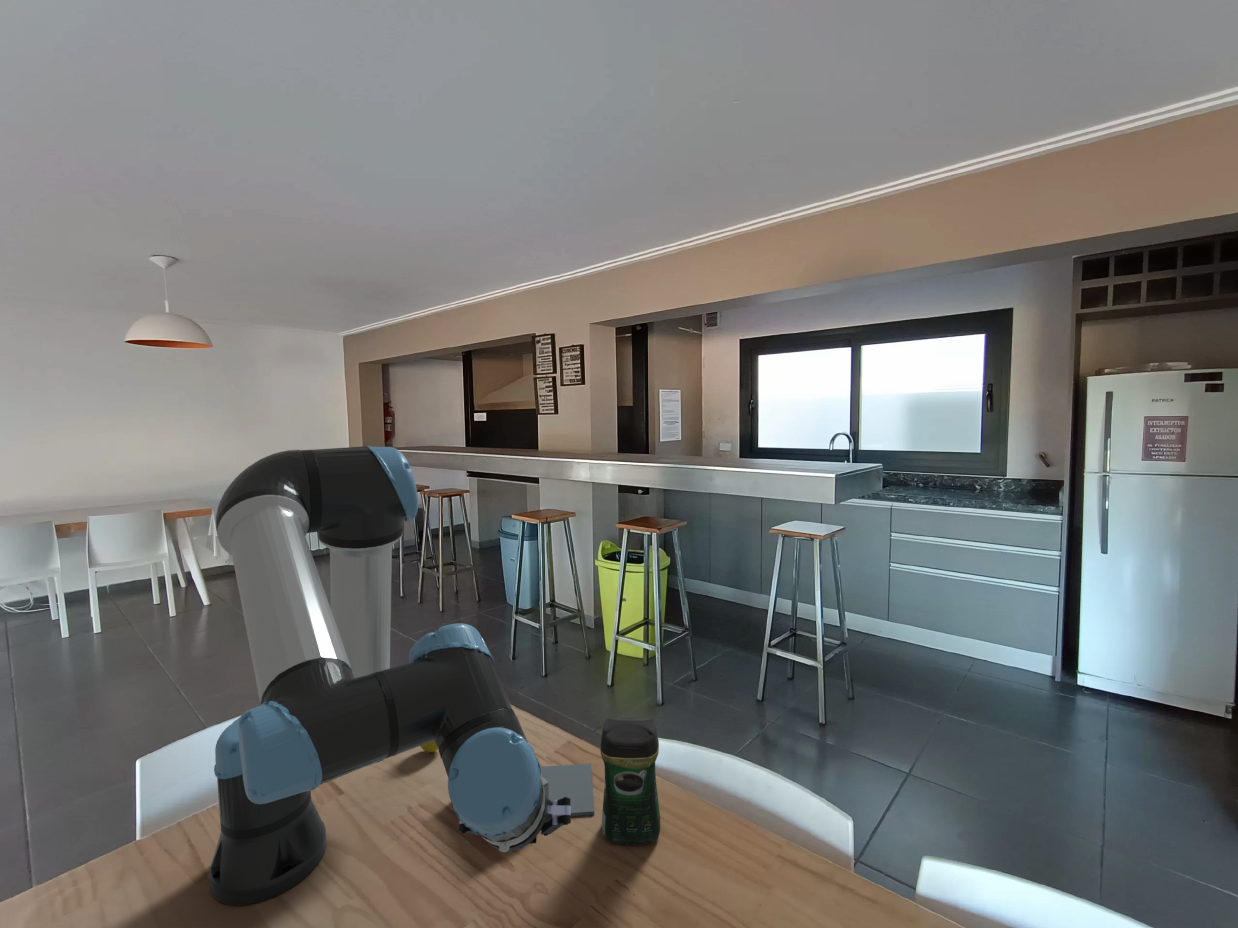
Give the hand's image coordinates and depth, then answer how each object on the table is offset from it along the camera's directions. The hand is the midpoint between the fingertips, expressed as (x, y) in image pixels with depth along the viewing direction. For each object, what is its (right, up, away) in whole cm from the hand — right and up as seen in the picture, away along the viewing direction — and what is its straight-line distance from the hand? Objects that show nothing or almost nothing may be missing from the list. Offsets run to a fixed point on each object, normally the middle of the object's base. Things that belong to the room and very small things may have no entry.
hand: (525, 832), depth 75 cm
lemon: (-25, -8, +37) cm, 45 cm away
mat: (-2, -9, +24) cm, 26 cm away
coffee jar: (+15, -10, +15) cm, 23 cm away
